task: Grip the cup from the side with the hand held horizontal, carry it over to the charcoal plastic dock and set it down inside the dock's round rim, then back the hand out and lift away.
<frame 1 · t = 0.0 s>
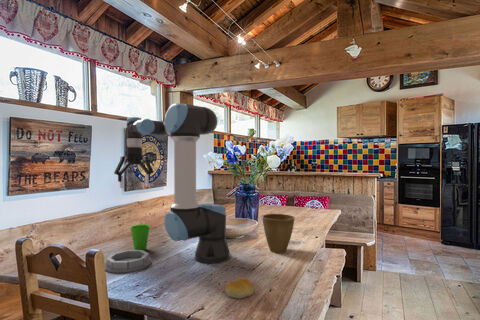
hand: (134, 187, 151), 28 cm above the table, tool pointing down, fingers open, 13 cm apart
cup: (140, 250, 136), on the table
plant pot: (278, 251, 134), on the table
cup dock: (128, 264, 117), on the table
bread roll: (239, 293, 92), on the table
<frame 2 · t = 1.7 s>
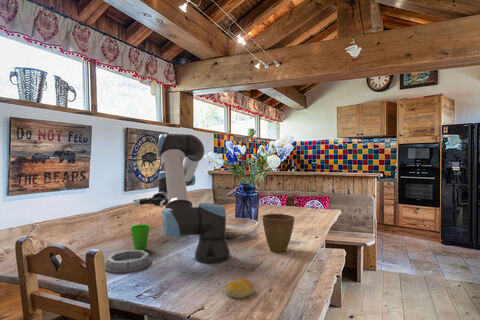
hand: (147, 204, 145), 20 cm above the table, tool horizontal, fingers open, 13 cm apart
nothing on the table moved.
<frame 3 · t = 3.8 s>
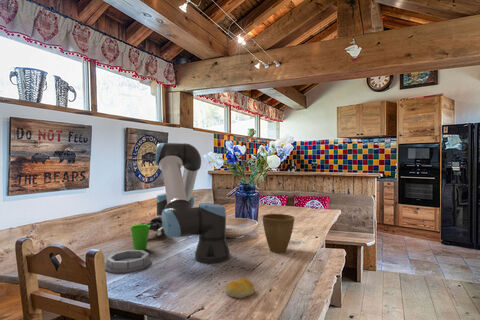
hand: (144, 232, 142), 6 cm above the table, tool horizontal, fingers open, 13 cm apart
nothing on the table moved.
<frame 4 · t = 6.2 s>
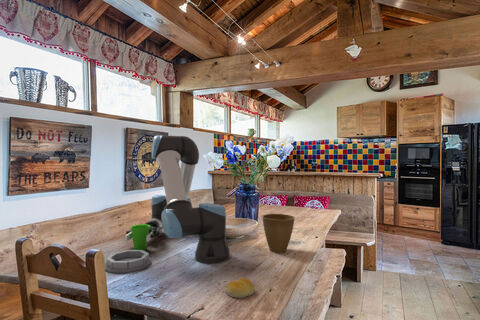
hand: (136, 238, 131), 7 cm above the table, tool horizontal, fingers closed on cup, 9 cm apart
cup: (140, 250, 136), on the table, touching gripper
everything else where it was.
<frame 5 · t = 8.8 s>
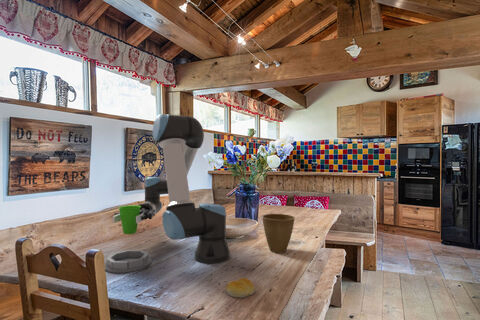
hand: (125, 219, 118), 18 cm above the table, tool horizontal, fingers closed on cup, 9 cm apart
cup: (129, 233, 122), point 11 cm above the table, touching gripper
everything else where it was.
when the fingers open (9 cm above the table, at t = 11.8 s): cup drops 1 cm, resting on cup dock.
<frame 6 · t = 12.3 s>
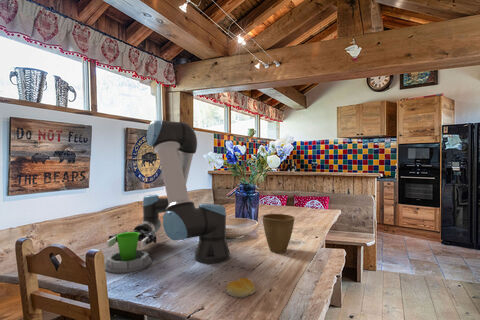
hand: (124, 244, 113), 9 cm above the table, tool horizontal, fingers open, 13 cm apart
cup: (128, 262, 117), point 1 cm above the table, touching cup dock
everything else where it was.
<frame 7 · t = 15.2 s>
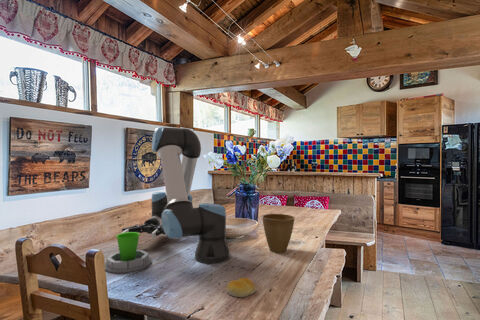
hand: (137, 235, 126), 9 cm above the table, tool horizontal, fingers open, 13 cm apart
nothing on the table moved.
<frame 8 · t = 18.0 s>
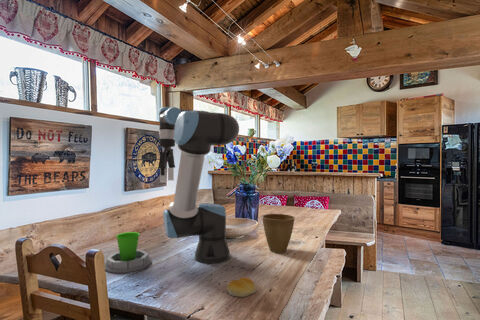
hand: (167, 181, 143), 32 cm above the table, tool pointing down, fingers open, 13 cm apart
at the end: cup 0.1 cm off-centre on the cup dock, point 0.8 cm above the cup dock's base; cup tilted 0°; the gripper is holding nothing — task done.
